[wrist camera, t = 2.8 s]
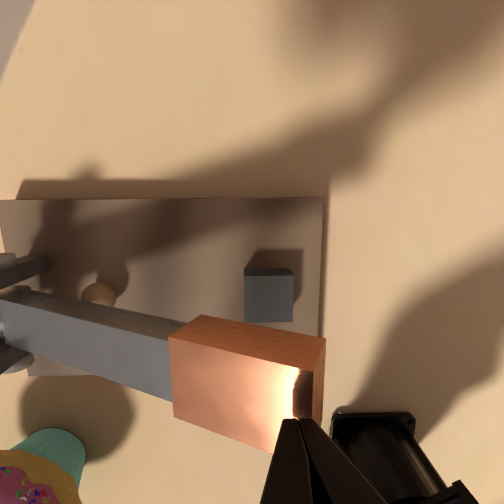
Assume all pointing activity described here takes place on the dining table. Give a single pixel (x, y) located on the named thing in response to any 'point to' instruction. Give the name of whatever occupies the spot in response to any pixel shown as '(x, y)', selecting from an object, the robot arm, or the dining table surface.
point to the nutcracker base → (167, 260)
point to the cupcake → (42, 469)
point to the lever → (178, 360)
